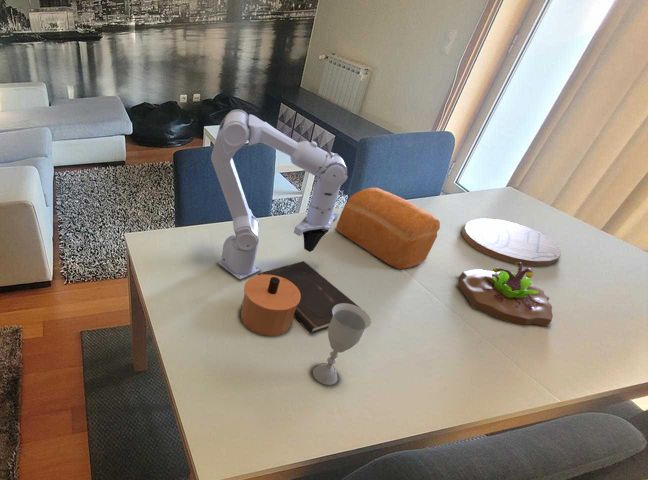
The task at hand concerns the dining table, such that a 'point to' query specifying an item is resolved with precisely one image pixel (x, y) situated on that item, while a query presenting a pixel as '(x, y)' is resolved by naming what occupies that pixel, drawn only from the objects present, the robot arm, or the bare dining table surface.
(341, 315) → the chalice
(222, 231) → the dining table surface
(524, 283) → the plant
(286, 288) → the pot lid
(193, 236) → the dining table surface
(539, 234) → the trivet
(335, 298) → the hardcover book
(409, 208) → the bread
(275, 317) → the pot
